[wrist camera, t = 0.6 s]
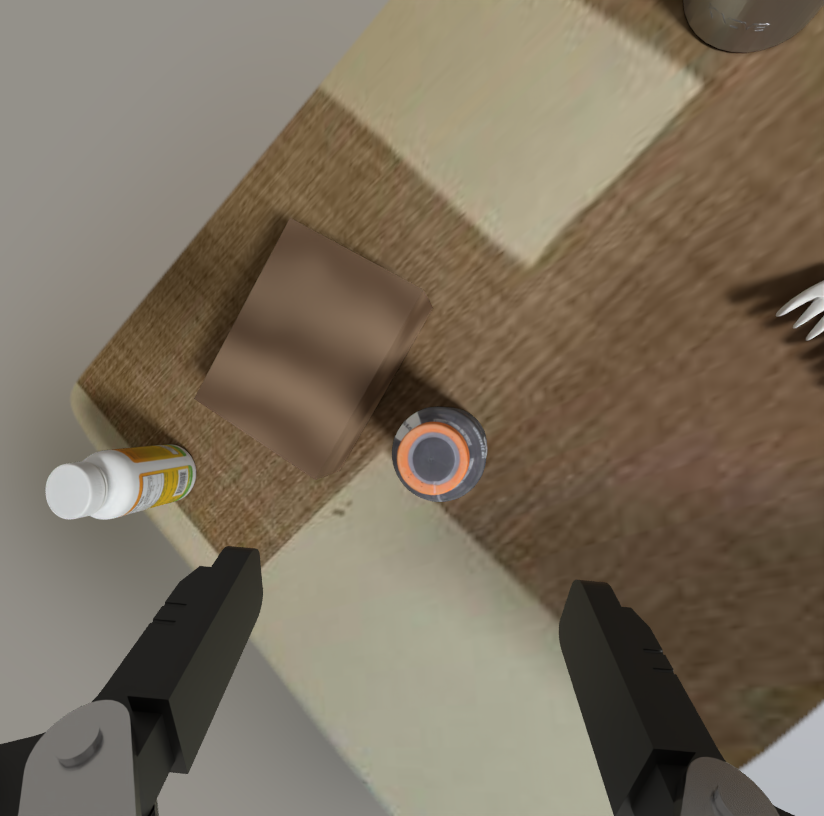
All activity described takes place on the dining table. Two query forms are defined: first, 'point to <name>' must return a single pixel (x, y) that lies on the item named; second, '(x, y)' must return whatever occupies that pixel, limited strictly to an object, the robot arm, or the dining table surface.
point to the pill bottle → (440, 453)
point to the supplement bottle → (120, 482)
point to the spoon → (820, 296)
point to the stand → (313, 350)
